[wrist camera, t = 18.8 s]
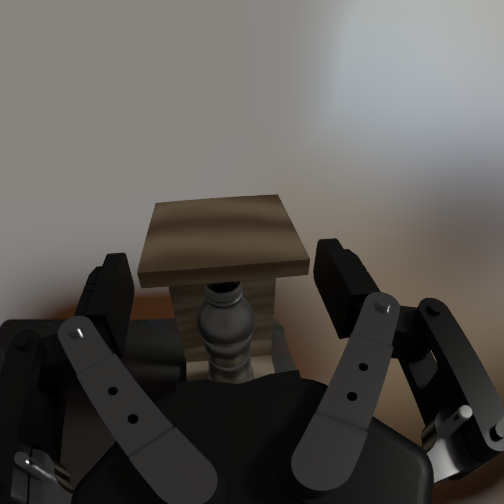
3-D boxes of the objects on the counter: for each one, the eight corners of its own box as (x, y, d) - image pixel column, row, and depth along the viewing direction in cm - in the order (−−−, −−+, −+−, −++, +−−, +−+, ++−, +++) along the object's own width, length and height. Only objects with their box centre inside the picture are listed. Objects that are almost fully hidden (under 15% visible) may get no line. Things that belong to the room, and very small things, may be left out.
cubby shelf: (283, 418, 39) (310, 259, 24) (189, 427, 38) (137, 272, 22) (269, 353, 49) (277, 194, 34) (187, 360, 47) (155, 203, 32)
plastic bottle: (205, 406, 40) (182, 302, 28) (213, 367, 45) (198, 259, 34) (252, 411, 39) (252, 308, 28) (256, 371, 45) (258, 262, 33)
